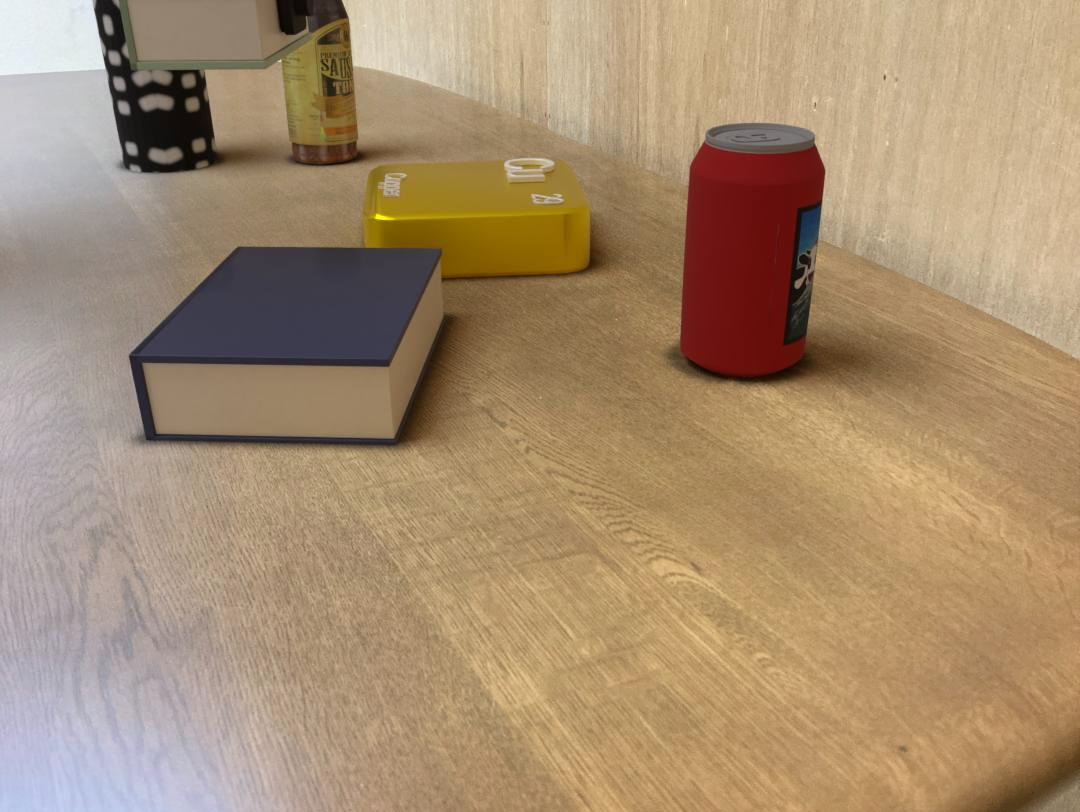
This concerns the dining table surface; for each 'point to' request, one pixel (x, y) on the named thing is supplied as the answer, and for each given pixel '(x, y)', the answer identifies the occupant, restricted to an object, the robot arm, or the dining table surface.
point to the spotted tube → (154, 106)
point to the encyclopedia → (294, 348)
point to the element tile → (482, 215)
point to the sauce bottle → (322, 90)
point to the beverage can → (750, 248)
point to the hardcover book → (206, 34)
